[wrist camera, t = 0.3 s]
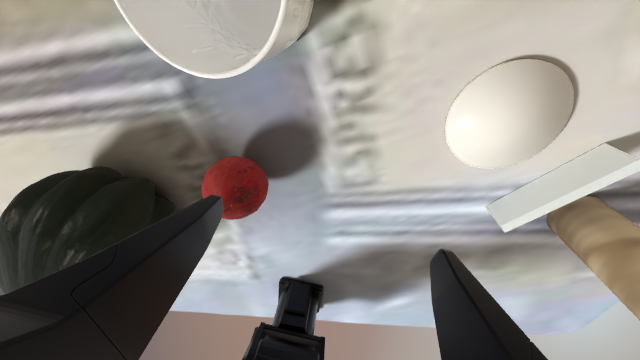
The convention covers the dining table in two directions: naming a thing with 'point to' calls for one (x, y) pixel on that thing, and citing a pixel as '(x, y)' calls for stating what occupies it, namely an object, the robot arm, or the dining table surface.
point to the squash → (72, 221)
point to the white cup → (217, 31)
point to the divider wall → (563, 186)
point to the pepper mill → (603, 245)
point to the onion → (236, 185)
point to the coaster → (509, 113)
